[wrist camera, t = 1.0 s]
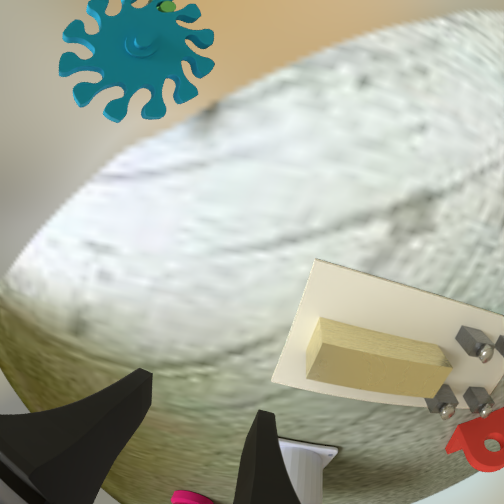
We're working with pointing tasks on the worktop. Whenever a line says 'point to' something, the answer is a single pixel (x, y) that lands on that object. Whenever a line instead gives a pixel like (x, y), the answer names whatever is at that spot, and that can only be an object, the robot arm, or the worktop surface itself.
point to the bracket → (480, 441)
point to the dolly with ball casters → (474, 396)
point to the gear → (137, 54)
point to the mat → (388, 330)
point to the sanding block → (374, 360)
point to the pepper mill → (189, 498)
